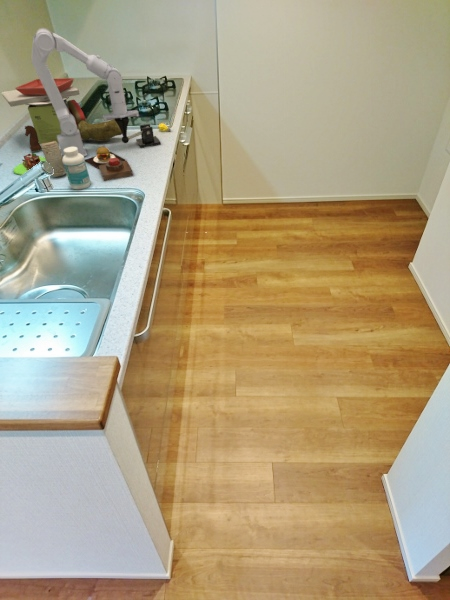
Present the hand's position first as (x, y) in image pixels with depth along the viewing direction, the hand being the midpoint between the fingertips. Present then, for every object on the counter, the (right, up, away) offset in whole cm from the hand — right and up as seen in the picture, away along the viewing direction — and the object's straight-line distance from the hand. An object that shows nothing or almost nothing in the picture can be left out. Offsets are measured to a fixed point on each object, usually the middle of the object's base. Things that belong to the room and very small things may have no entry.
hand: (124, 136), depth 170 cm
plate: (-35, +16, +3) cm, 39 cm away
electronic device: (-37, +19, +3) cm, 42 cm away
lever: (+5, 0, +3) cm, 5 cm away
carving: (-21, -22, -17) cm, 35 cm away
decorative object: (-21, +9, +9) cm, 25 cm away
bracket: (+9, -1, +6) cm, 11 cm away
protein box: (-34, +4, +12) cm, 36 cm away
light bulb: (+14, +9, +14) cm, 22 cm away
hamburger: (-6, -13, -7) cm, 16 cm away
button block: (+1, -21, -17) cm, 27 cm away
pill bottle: (-10, -28, -24) cm, 38 cm away
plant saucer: (-33, +19, 0) cm, 38 cm away
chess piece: (-38, -5, +2) cm, 39 cm away
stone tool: (-13, +10, +9) cm, 19 cm away
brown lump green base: (-33, -17, -11) cm, 38 cm away
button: (+1, -19, -19) cm, 27 cm away
